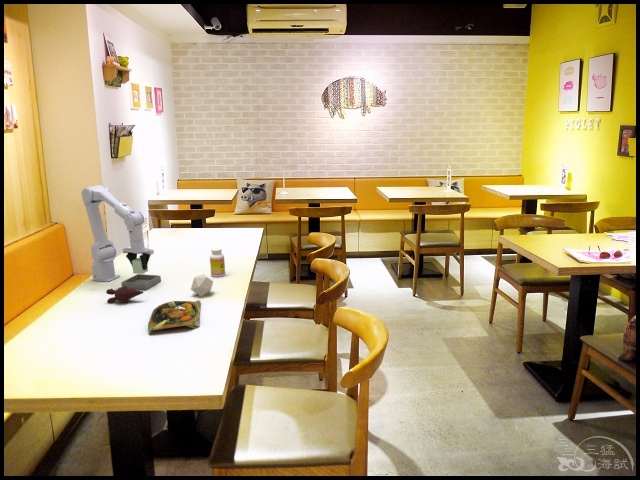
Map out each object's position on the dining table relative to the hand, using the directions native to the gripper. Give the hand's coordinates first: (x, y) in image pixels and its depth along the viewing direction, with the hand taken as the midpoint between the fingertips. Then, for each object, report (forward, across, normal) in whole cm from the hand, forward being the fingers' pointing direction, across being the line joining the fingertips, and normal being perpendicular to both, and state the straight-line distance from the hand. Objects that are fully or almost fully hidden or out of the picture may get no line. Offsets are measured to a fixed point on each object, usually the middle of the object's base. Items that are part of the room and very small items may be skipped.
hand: (140, 269), depth 220 cm
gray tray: (+8, 0, 0) cm, 8 cm away
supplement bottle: (+8, -28, -20) cm, 35 cm away
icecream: (+8, -6, +20) cm, 22 cm away
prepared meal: (+8, -35, +30) cm, 47 cm away
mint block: (+2, 0, 0) cm, 2 cm away
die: (+8, -33, +5) cm, 34 cm away
